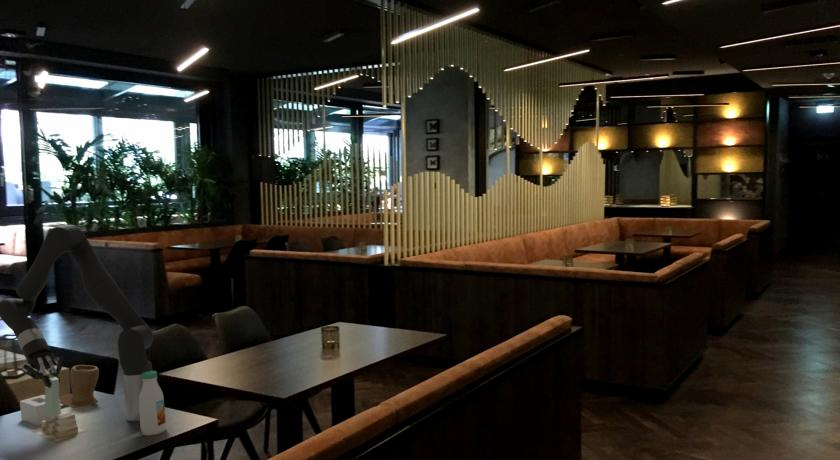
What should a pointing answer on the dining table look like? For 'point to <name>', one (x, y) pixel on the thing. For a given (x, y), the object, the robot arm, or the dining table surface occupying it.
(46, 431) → the rack
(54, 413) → the tall sheet
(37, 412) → the sheet stand
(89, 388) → the stone cup
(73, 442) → the dining table surface
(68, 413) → the offcut stack
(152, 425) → the milk bottle
